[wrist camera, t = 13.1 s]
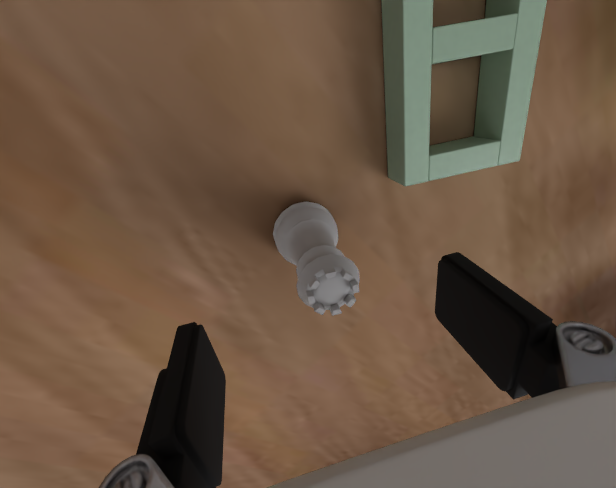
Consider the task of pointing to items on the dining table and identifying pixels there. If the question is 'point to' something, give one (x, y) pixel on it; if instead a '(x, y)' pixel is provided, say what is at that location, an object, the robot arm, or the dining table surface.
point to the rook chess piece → (316, 257)
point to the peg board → (491, 91)
